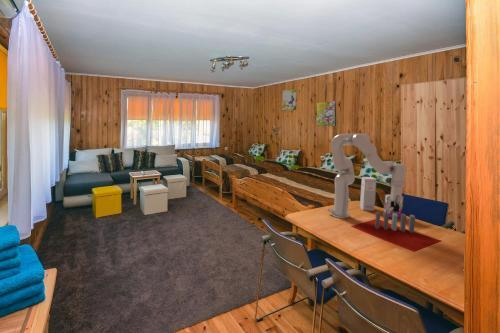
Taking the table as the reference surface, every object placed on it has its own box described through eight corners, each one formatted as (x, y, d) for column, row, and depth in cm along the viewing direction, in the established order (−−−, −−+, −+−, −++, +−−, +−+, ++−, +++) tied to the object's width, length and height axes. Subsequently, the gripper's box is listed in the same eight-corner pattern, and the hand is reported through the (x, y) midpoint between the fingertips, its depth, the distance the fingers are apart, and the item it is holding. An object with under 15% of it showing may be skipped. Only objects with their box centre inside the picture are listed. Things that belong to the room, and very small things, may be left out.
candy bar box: (385, 218, 206) (387, 196, 203) (383, 215, 211) (384, 194, 208) (401, 218, 205) (403, 196, 202) (398, 216, 209) (400, 194, 207)
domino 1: (375, 228, 186) (376, 213, 184) (374, 225, 191) (376, 211, 189) (379, 228, 185) (380, 214, 184) (378, 226, 190) (379, 211, 188)
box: (362, 210, 224) (365, 179, 220) (359, 207, 232) (361, 176, 228) (374, 210, 223) (376, 179, 219) (370, 207, 231) (372, 177, 227)
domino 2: (384, 229, 184) (385, 214, 183) (383, 226, 189) (384, 212, 187) (387, 229, 184) (388, 214, 182) (386, 227, 188) (387, 212, 187)
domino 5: (410, 232, 180) (411, 217, 178) (408, 229, 185) (409, 214, 183) (413, 232, 179) (415, 217, 178) (411, 229, 184) (413, 214, 182)
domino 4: (401, 231, 181) (402, 216, 180) (399, 228, 186) (401, 213, 184) (404, 231, 181) (406, 216, 179) (403, 228, 186) (404, 214, 184)
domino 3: (392, 230, 183) (394, 215, 181) (391, 227, 188) (392, 213, 186) (396, 230, 182) (397, 215, 181) (394, 227, 187) (396, 213, 185)
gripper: (389, 179, 189) (386, 204, 192) (393, 185, 173) (390, 212, 176) (401, 180, 187) (398, 205, 190) (407, 187, 171) (403, 214, 174)
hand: (394, 209), depth 183 cm, fingers open, 9 cm apart
